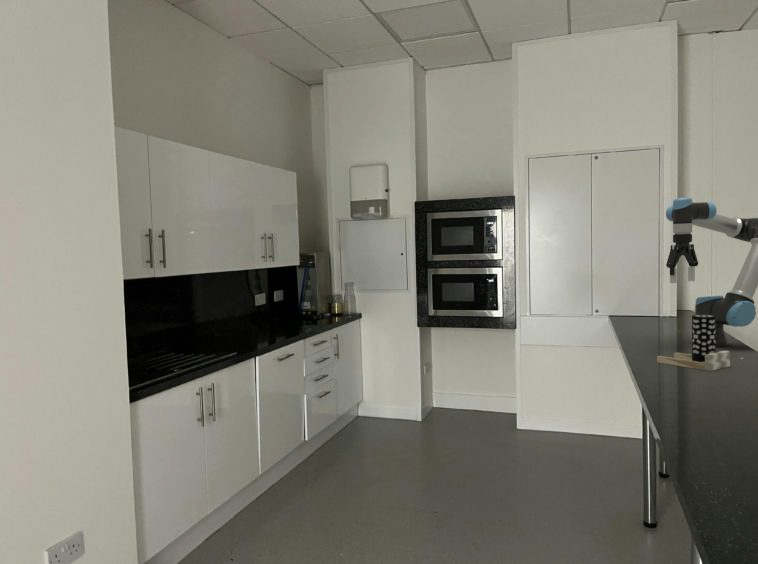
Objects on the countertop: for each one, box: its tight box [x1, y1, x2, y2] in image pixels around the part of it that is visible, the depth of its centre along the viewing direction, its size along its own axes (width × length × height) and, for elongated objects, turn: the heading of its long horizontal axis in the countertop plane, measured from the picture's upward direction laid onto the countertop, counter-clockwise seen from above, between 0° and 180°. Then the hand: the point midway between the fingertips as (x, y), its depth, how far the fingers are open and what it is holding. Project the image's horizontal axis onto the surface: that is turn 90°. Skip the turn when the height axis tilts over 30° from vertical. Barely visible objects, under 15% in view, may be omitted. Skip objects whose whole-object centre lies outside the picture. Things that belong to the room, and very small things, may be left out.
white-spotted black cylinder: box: [691, 314, 717, 363], centre depth 235 cm, size 8×8×20 cm
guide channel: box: [656, 350, 731, 372], centre depth 239 cm, size 14×22×6 cm, turn 31°
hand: (682, 282), depth 261 cm, fingers open, 13 cm apart
